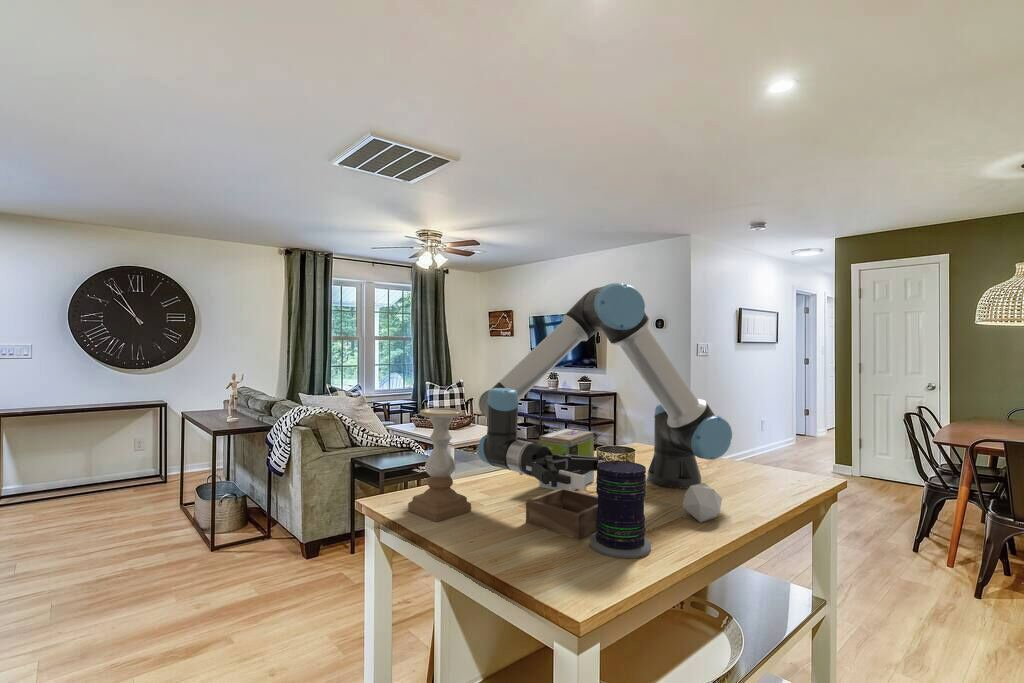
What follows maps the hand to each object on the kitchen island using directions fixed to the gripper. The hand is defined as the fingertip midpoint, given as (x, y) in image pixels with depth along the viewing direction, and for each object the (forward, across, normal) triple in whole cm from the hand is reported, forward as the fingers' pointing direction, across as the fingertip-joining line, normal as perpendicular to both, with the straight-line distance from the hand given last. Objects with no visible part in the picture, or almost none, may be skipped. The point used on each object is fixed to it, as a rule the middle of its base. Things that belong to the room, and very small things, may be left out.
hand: (605, 477), depth 106 cm
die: (+7, -29, -13) cm, 32 cm away
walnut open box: (-12, -3, -13) cm, 18 cm away
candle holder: (-37, +14, -13) cm, 42 cm away
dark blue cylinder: (+4, 0, -12) cm, 13 cm away
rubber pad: (+4, 0, -13) cm, 14 cm away
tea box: (-32, -27, -13) cm, 43 cm away
